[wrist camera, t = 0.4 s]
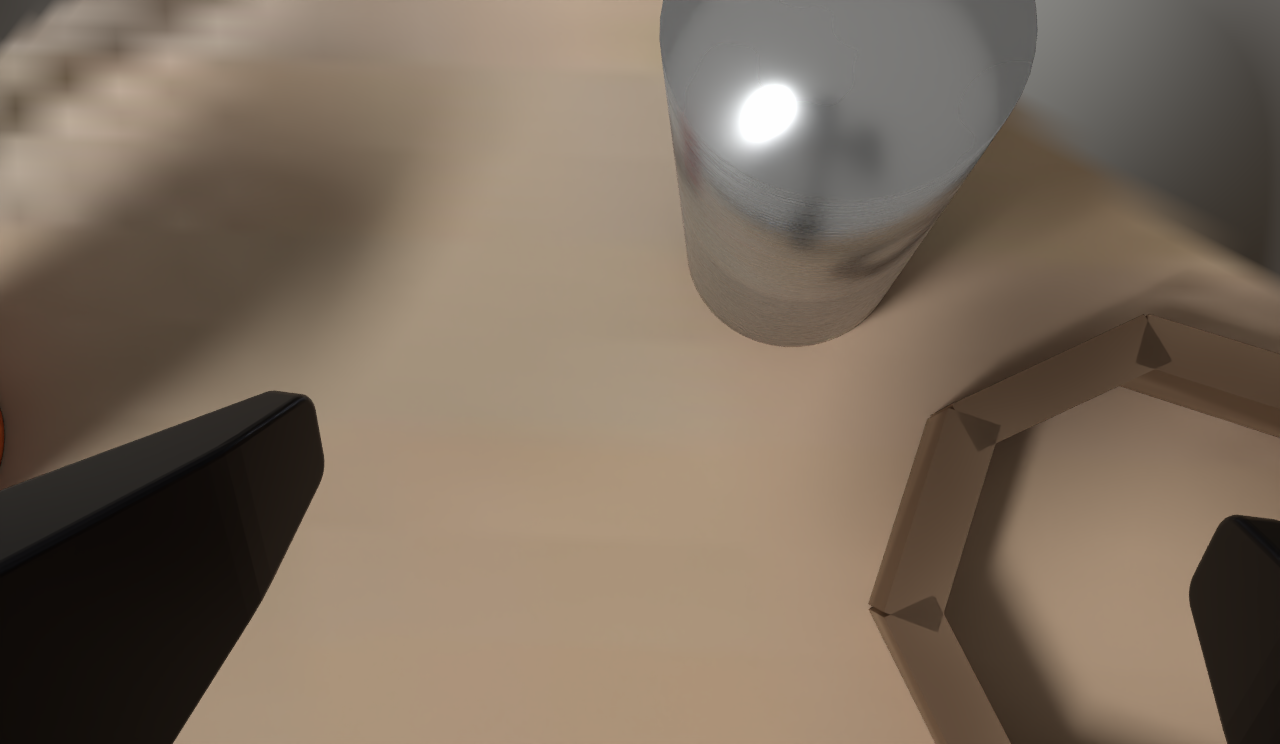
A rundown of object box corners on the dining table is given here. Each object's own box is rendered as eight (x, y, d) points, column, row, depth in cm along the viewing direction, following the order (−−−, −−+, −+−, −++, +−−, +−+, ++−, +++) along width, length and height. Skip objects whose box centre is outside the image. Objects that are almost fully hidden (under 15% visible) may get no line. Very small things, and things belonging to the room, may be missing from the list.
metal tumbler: (935, 290, 22) (1111, 95, 12) (742, 382, 22) (758, 261, 12) (836, 115, 23) (922, -196, 13) (653, 202, 23) (601, -43, 13)
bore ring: (1535, 738, 19) (1632, 763, 17) (1045, 964, 19) (1083, 1015, 17) (1234, 273, 21) (1286, 247, 19) (802, 475, 21) (810, 470, 19)
